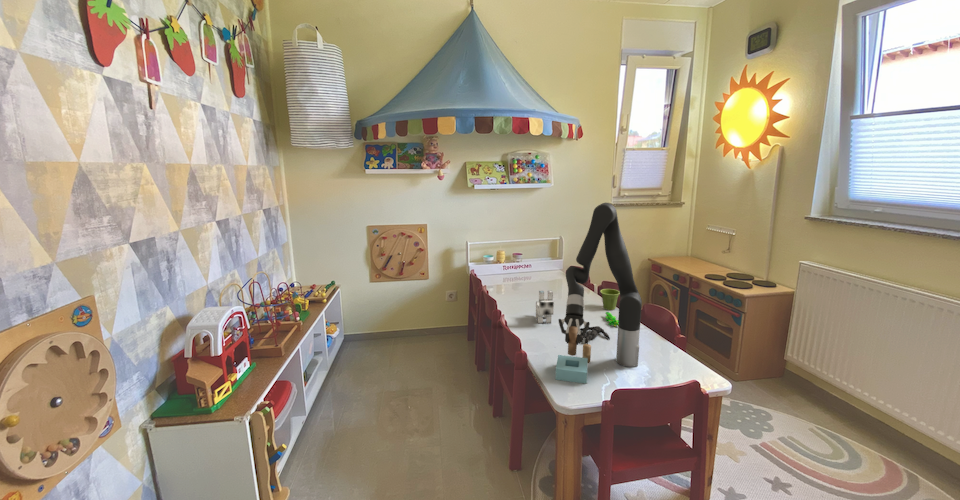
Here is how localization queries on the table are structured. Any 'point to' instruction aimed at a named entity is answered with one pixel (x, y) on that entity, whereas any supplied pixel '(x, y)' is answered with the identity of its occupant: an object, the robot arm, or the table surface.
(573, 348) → the long pin
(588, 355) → the short pin
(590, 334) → the dark grey sprawling piece
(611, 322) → the green lumpy elongated piece
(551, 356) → the table surface
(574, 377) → the hole block
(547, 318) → the toy llama
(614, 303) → the plant pot
